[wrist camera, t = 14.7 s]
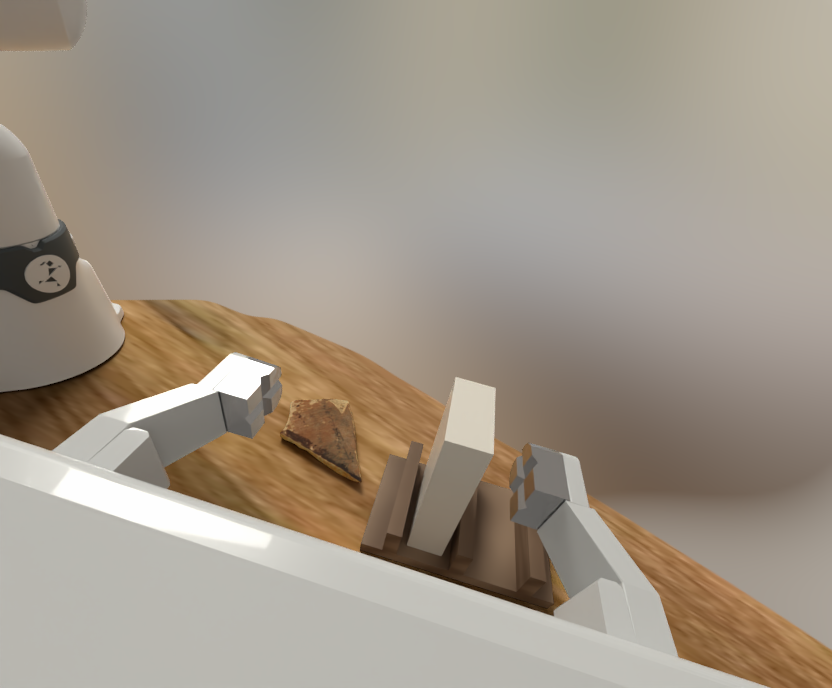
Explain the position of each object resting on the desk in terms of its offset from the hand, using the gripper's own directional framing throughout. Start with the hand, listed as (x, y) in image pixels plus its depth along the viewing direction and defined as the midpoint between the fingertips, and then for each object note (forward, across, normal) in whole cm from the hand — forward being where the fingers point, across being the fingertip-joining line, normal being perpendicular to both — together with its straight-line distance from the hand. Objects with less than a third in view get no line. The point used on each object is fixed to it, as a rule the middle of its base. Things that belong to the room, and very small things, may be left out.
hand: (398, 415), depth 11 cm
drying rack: (+9, -8, +23) cm, 26 cm away
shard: (+15, +7, +24) cm, 30 cm away
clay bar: (+9, -5, +22) cm, 24 cm away
